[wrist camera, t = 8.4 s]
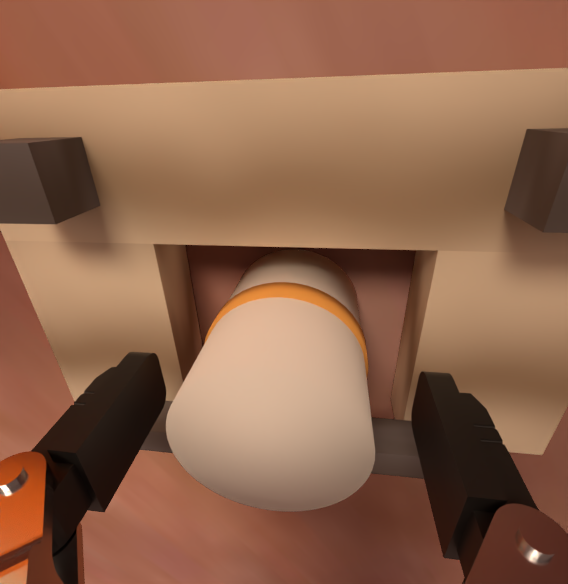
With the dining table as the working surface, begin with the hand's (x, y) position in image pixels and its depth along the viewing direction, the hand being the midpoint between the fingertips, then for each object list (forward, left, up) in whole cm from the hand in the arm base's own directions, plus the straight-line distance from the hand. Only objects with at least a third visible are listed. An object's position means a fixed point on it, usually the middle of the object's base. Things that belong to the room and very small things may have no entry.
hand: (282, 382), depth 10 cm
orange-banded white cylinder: (0, 0, -5) cm, 5 cm away
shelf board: (-2, 0, -5) cm, 5 cm away
